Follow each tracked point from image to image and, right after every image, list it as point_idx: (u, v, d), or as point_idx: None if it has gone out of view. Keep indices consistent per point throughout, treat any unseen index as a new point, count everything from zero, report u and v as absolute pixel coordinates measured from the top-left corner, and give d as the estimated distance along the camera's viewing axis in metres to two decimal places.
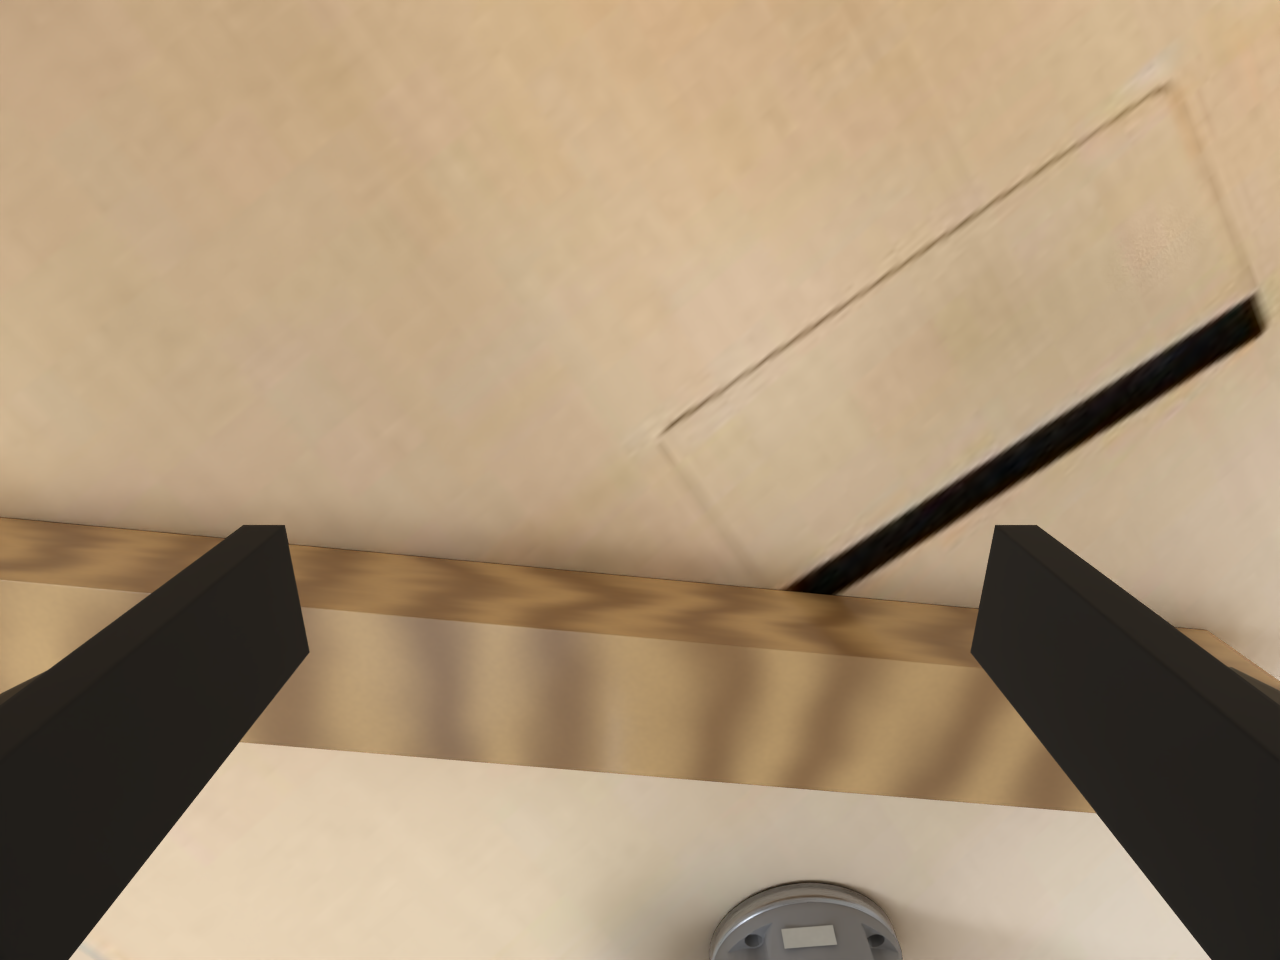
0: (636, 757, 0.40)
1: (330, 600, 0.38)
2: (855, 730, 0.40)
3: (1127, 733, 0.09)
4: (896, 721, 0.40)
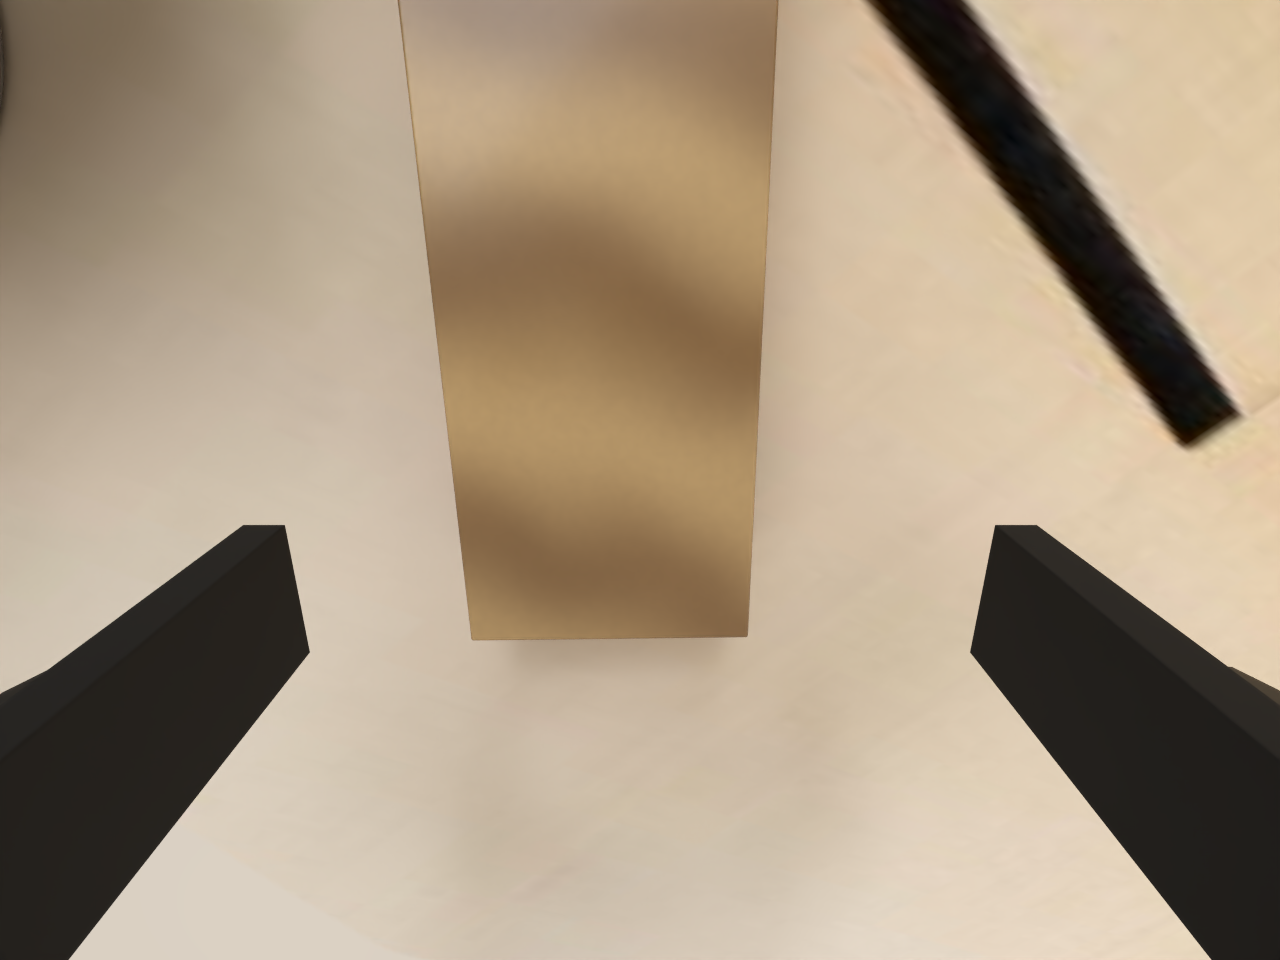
0: None
1: None
2: None
3: (1127, 734, 0.09)
4: None
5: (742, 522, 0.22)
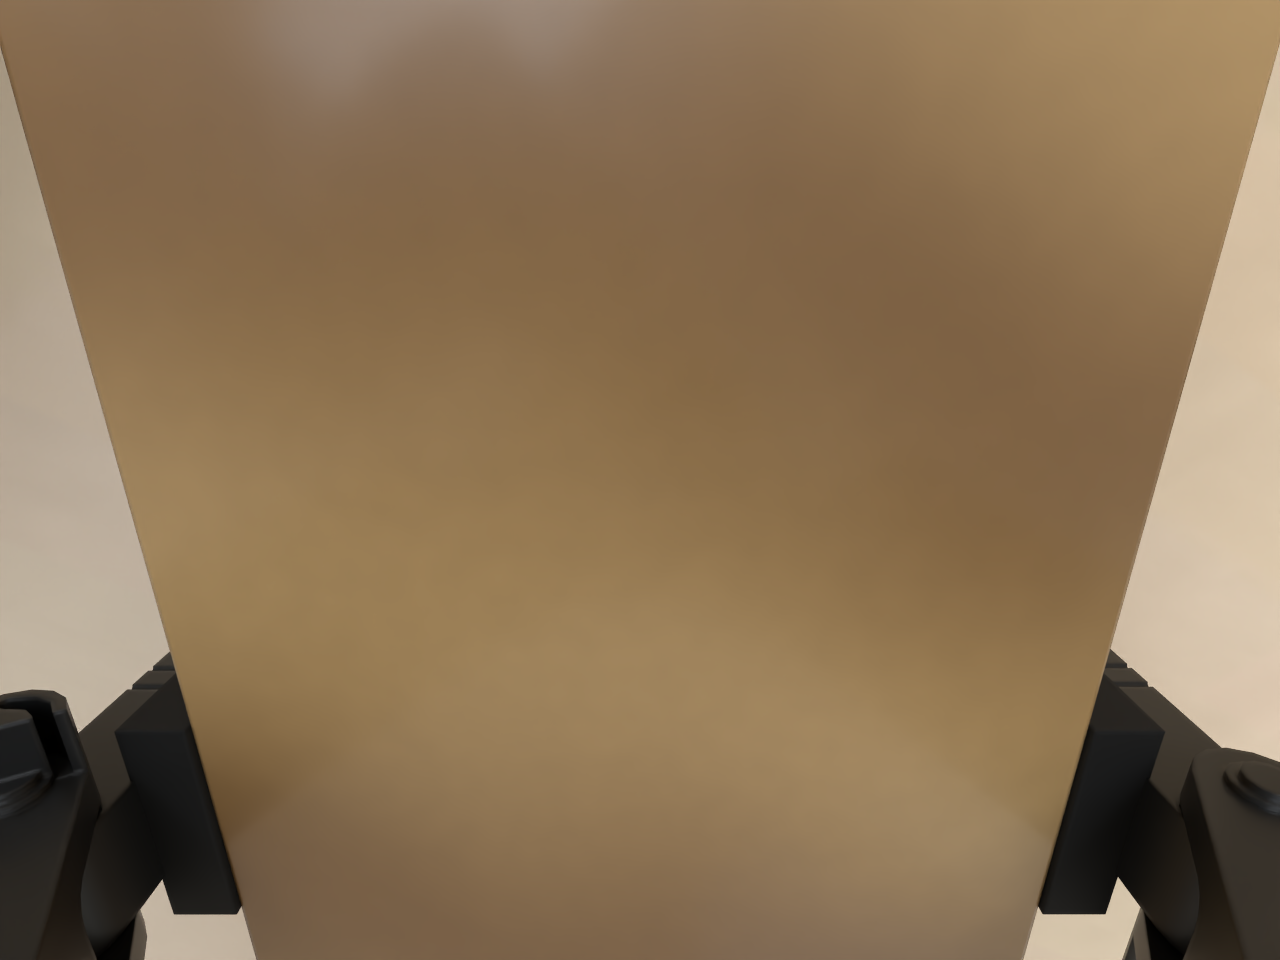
0: None
1: None
2: None
3: None
4: None
5: (1019, 874, 0.08)
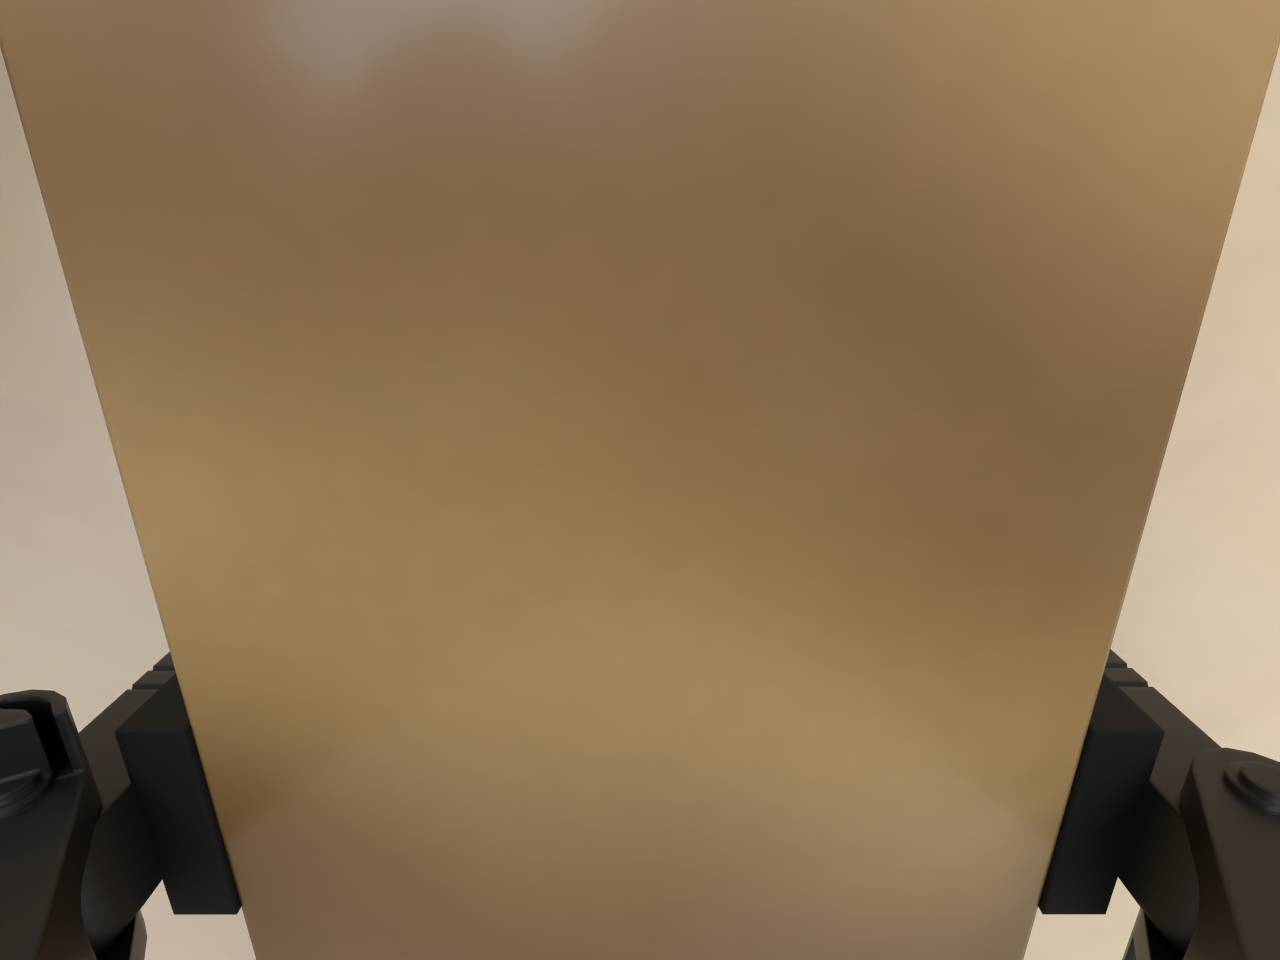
0: None
1: None
2: None
3: None
4: None
5: (1019, 874, 0.08)
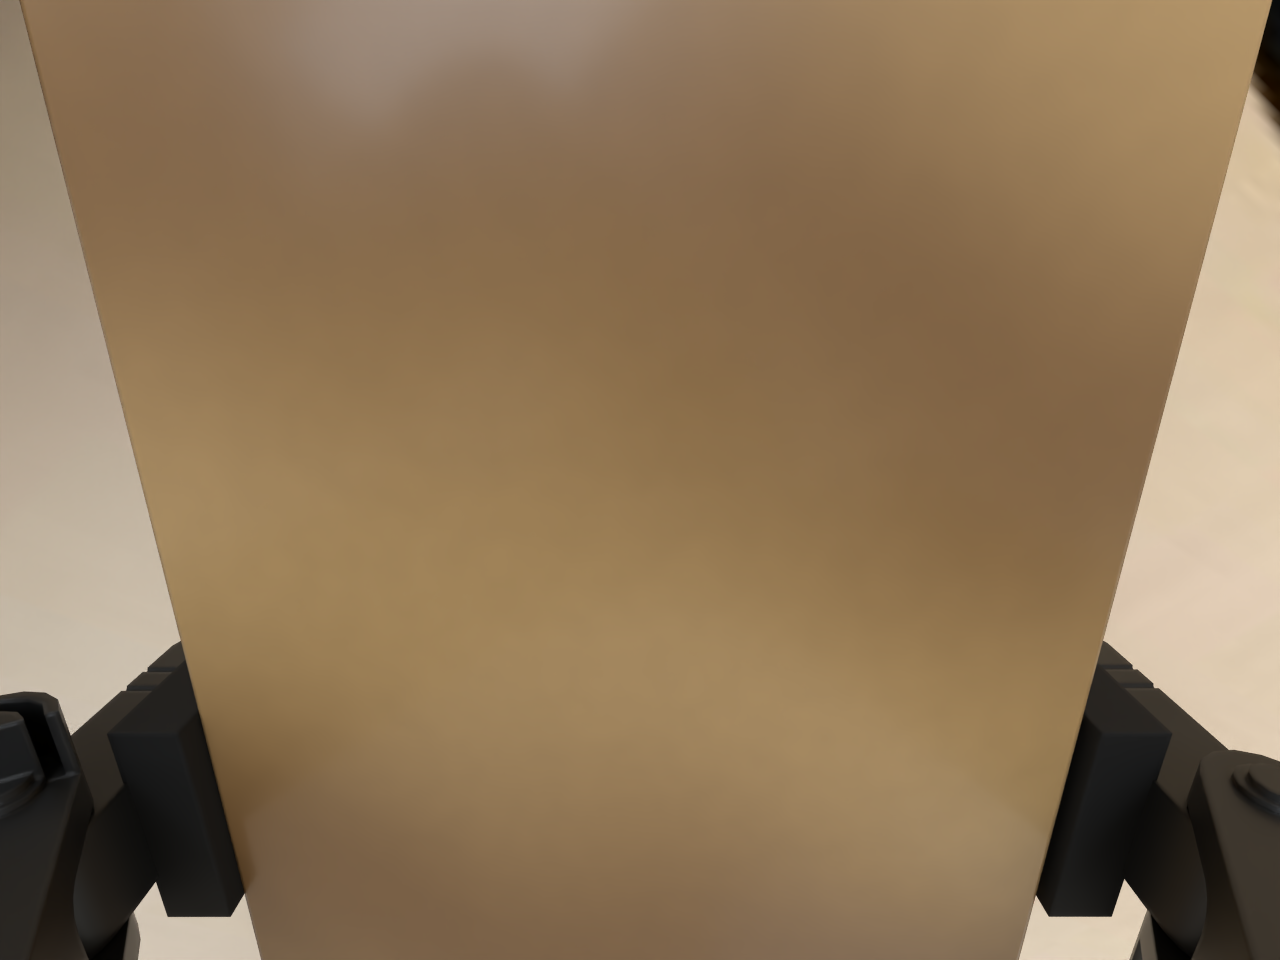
0: None
1: None
2: None
3: None
4: None
5: (1013, 869, 0.08)
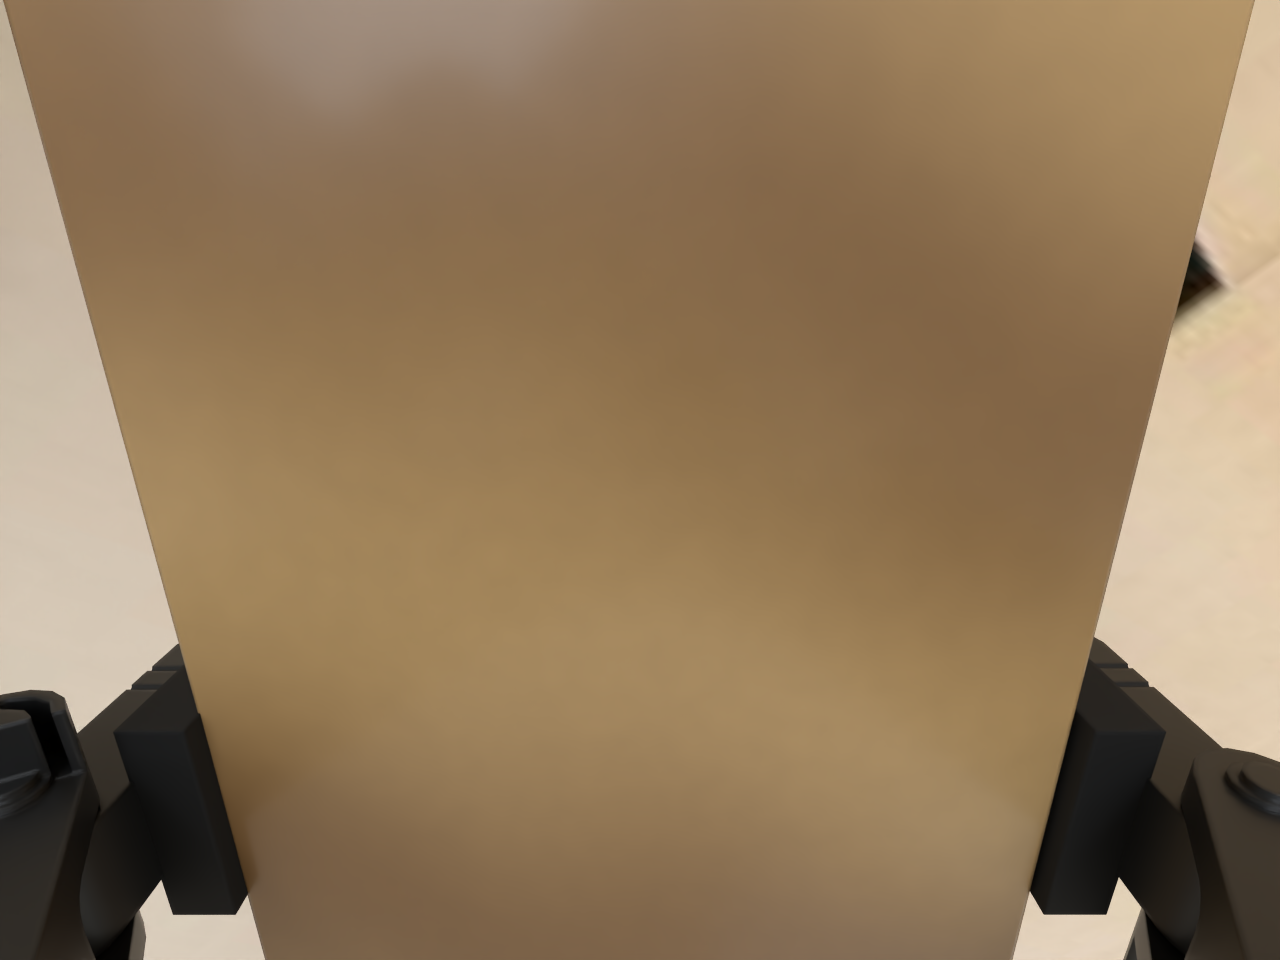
0: None
1: None
2: None
3: None
4: None
5: (1010, 854, 0.08)
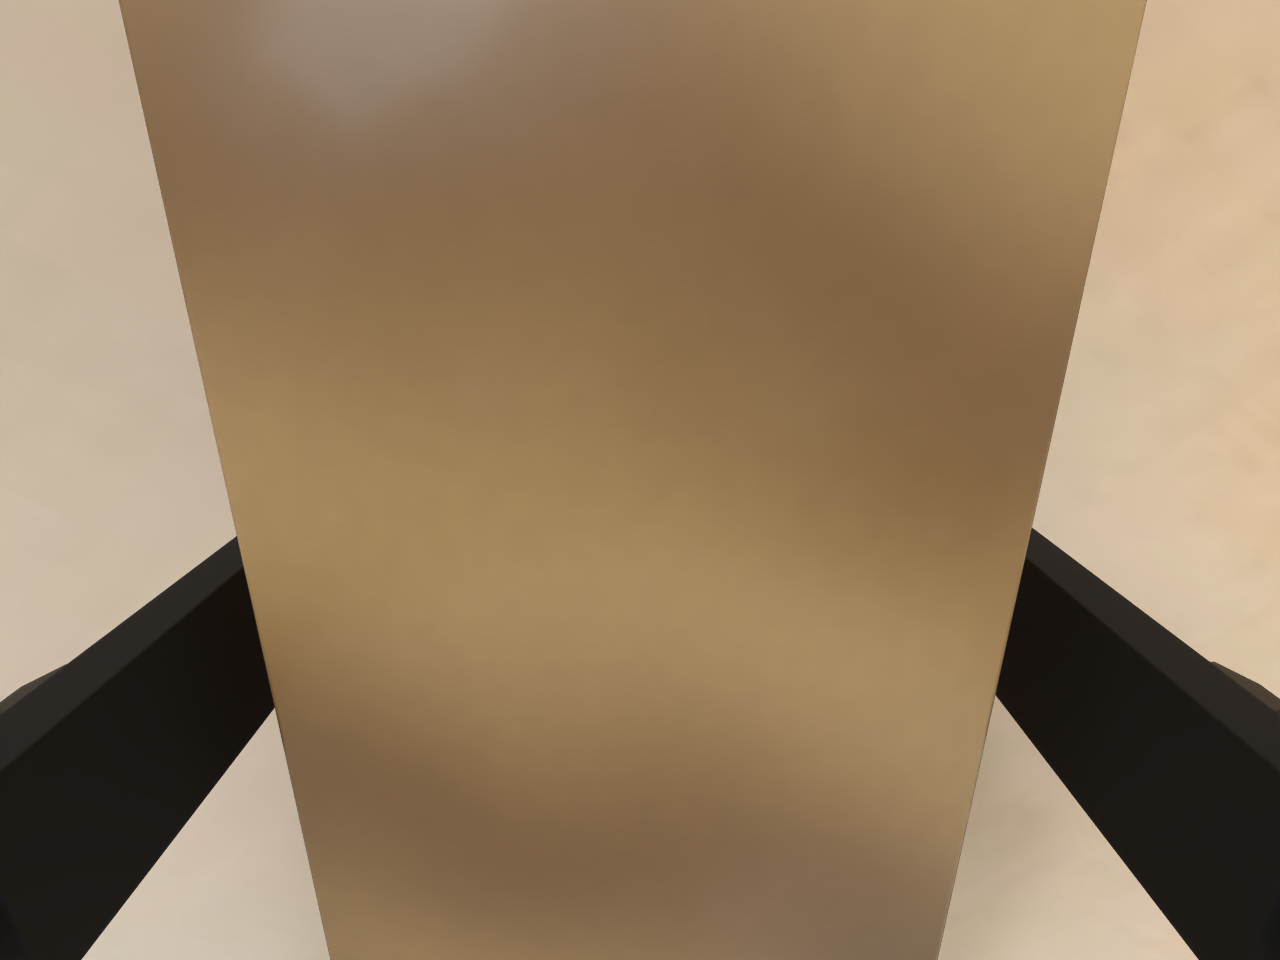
0: None
1: None
2: None
3: (1111, 727, 0.09)
4: None
5: (955, 768, 0.09)
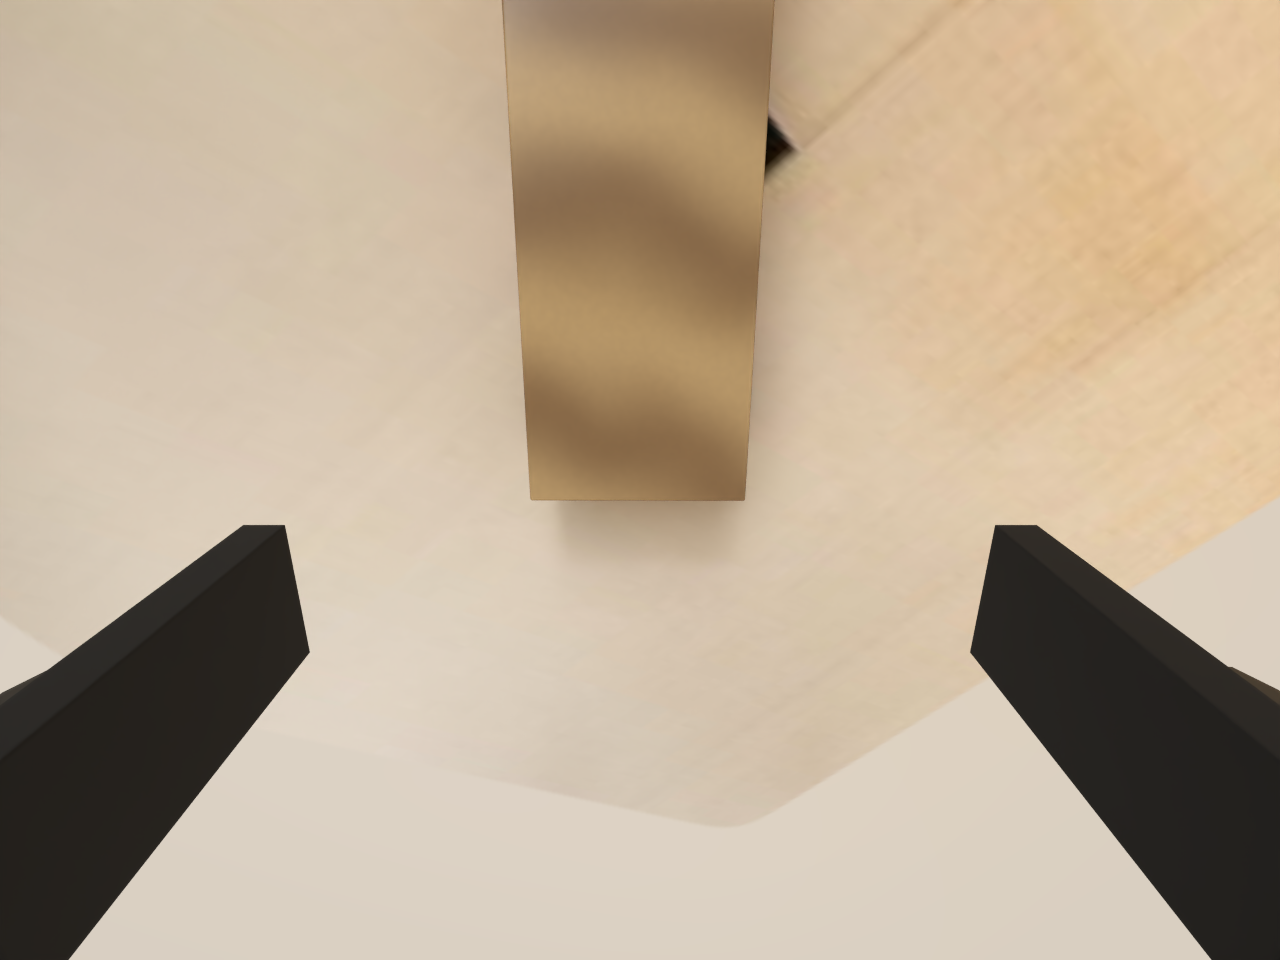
0: None
1: None
2: None
3: (1127, 734, 0.09)
4: None
5: (742, 406, 0.29)
